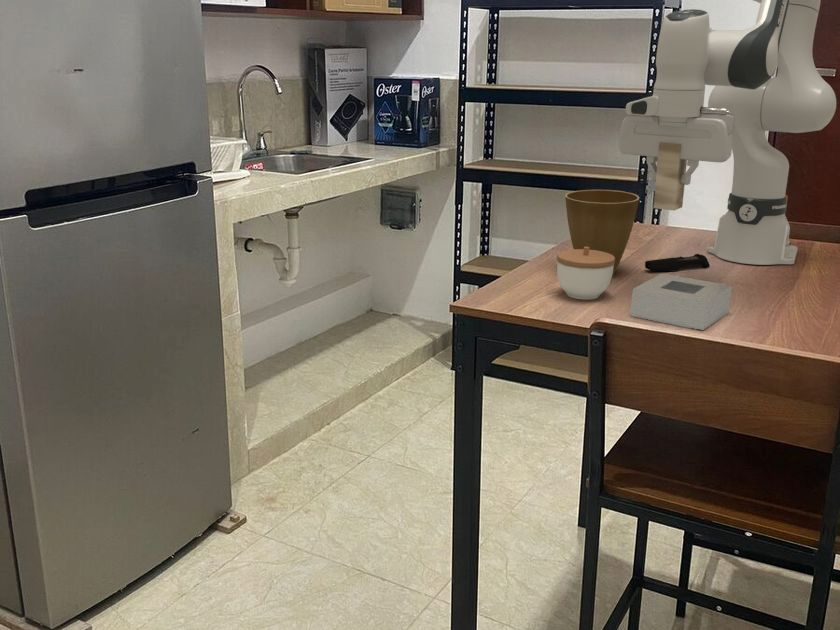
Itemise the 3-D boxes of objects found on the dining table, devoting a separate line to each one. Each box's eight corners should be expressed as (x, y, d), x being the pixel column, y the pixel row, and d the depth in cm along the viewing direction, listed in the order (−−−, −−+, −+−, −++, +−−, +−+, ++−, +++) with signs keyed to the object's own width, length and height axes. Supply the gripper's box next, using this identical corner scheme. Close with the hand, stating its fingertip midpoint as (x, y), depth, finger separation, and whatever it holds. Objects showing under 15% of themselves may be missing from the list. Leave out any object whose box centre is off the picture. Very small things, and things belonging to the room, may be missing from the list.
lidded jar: (599, 306, 154) (603, 256, 151) (545, 297, 160) (548, 248, 157) (619, 293, 163) (623, 245, 160) (568, 284, 168) (571, 238, 165)
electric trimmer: (639, 272, 179) (640, 258, 178) (699, 265, 185) (700, 251, 184) (650, 277, 176) (651, 262, 175) (710, 269, 181) (712, 255, 180)
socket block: (659, 299, 159) (661, 273, 157) (728, 312, 152) (732, 285, 150) (630, 315, 149) (632, 288, 148) (703, 331, 142) (706, 302, 140)
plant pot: (576, 258, 188) (581, 187, 183) (642, 268, 180) (649, 193, 176) (549, 273, 176) (553, 197, 171) (618, 284, 169) (624, 204, 164)
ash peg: (661, 204, 160) (667, 140, 156) (682, 207, 158) (688, 142, 154) (653, 208, 157) (659, 142, 153) (674, 210, 155) (680, 144, 151)
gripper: (741, 107, 148) (732, 186, 152) (632, 101, 160) (626, 175, 164) (730, 110, 143) (720, 191, 148) (617, 104, 155) (612, 179, 159)
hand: (670, 182), depth 156 cm, fingers closed on ash peg, 4 cm apart
